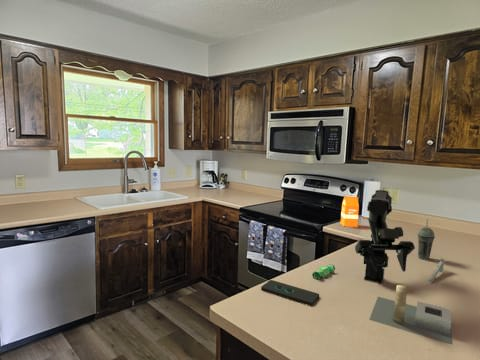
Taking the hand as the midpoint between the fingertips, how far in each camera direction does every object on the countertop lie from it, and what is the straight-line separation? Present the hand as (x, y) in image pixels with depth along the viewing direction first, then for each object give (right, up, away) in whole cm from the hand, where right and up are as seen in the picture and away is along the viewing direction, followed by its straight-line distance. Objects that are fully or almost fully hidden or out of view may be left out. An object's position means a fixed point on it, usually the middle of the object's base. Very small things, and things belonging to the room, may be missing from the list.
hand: (390, 270), depth 106 cm
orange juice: (+23, -1, +108) cm, 110 cm away
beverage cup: (+40, -9, +51) cm, 65 cm away
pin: (0, -14, -6) cm, 15 cm away
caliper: (+33, -11, +30) cm, 46 cm away
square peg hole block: (+10, -15, -7) cm, 19 cm away
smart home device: (-32, -12, +11) cm, 36 cm away
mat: (+5, -14, -3) cm, 15 cm away
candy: (-15, -10, +28) cm, 33 cm away
